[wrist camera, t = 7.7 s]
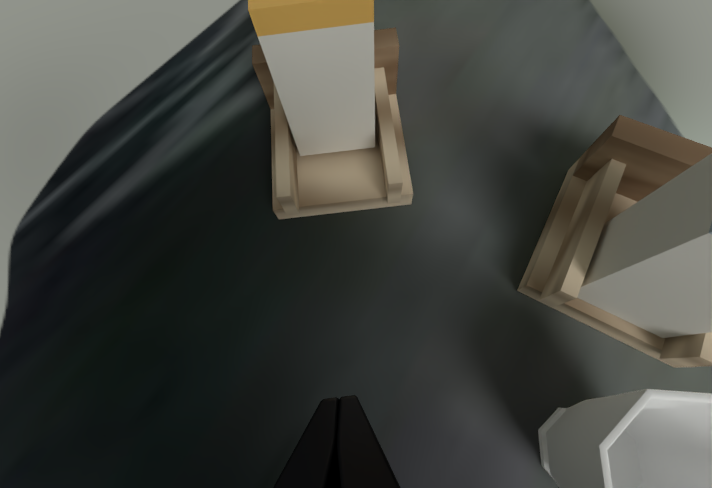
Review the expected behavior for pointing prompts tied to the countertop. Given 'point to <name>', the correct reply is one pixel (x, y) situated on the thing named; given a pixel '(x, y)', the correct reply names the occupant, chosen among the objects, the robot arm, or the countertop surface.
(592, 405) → the cup
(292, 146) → the guide
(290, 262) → the countertop surface
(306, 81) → the button
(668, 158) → the guide
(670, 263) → the button
